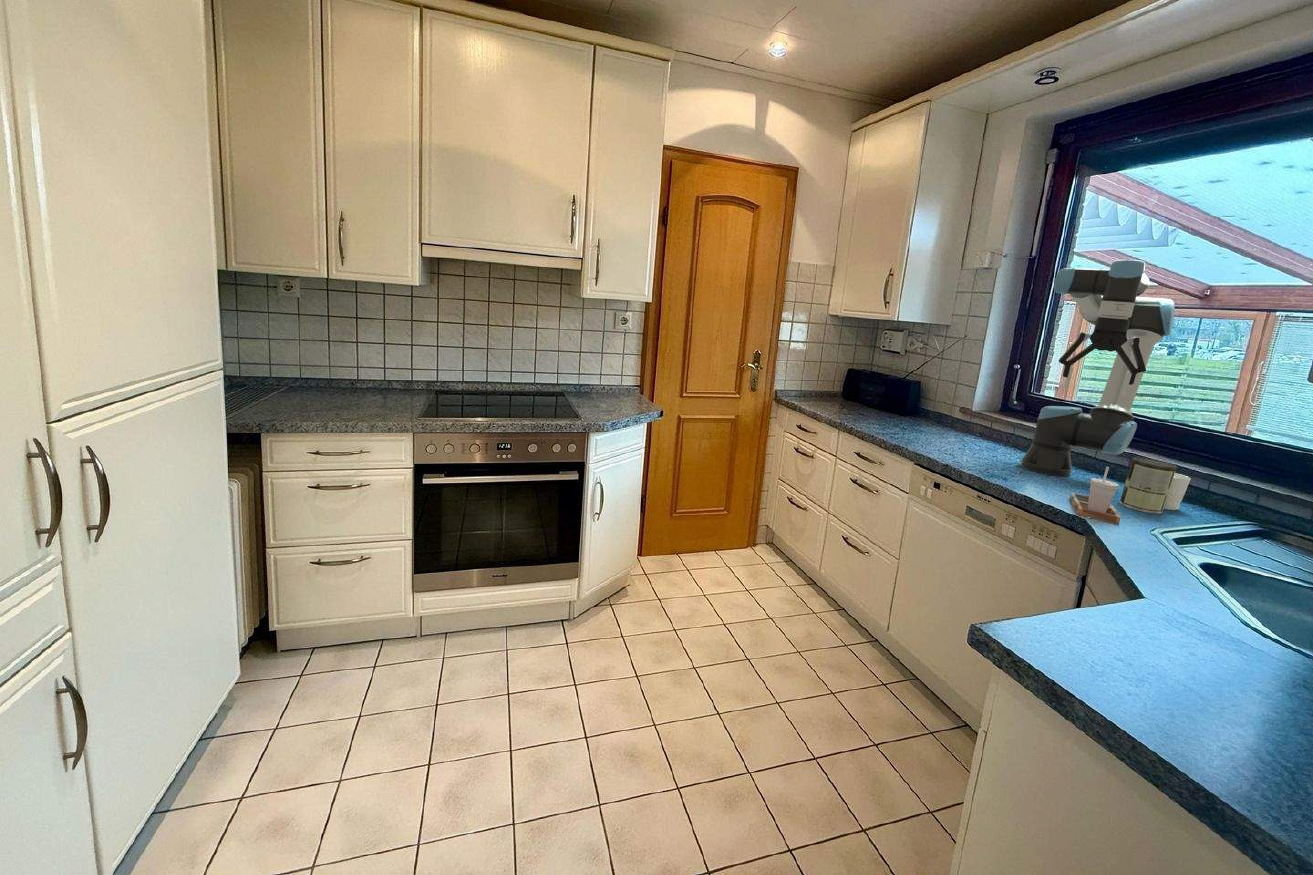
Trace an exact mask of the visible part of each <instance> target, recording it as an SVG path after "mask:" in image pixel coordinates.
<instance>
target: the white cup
mask: <svg viewBox="0 0 1313 875" xmlns="http://www.w3.org/2000/svg"><path fill="white" fill-rule="evenodd" d="M1190 481H1191V477H1189V476H1187V475H1183V474H1180V473H1176V472H1175V474H1174V478H1173V481H1172V484H1171V487H1170V490H1169V493H1168V496H1167V499H1166V503H1165V506H1164V509H1163V510H1168V511H1169V510H1171V511H1177V510H1179V508H1180V506H1181V502H1182V501H1183V500H1184V497H1185V494H1186V491H1187V489H1188V486H1189V483H1190Z"/></svg>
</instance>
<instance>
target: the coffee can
mask: <svg viewBox="0 0 1313 875" xmlns="http://www.w3.org/2000/svg"><path fill="white" fill-rule="evenodd" d="M1177 469H1178V466H1177V465H1176V464H1173V463H1170V462H1166V461H1163V460H1158V459H1154V458H1150V457H1149V458H1148V457H1141V456H1140V457H1139V456H1138V457H1136V456H1135V457H1132V458H1131V463H1130V467H1129V470H1128V473H1127V475H1126V479H1125V484H1124V487H1123V490H1122V493H1121V497H1120V499H1119V504H1120V505H1121V506H1124V507H1126V508H1129V509H1132V510H1135V511H1137V512H1138V511H1139V512H1143V513H1148V514H1158V515H1159V514H1160V515H1161V514H1163V513H1164V510H1165V509H1164V506H1165V503H1166V499H1167V496H1168V493H1169V490H1170V487H1171V484H1172V481H1173V478H1174V474H1175V473H1176V471H1177Z"/></svg>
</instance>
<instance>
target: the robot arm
mask: <svg viewBox="0 0 1313 875" xmlns="http://www.w3.org/2000/svg"><path fill="white" fill-rule="evenodd" d="M1145 267H1146V262H1145V261H1143V260H1137V259H1136V260H1135V259H1116V260H1113V262H1111V265H1110V268H1109V269H1101V268H1100V269H1099V268H1079V267H1078V268H1075V267H1072V268H1071V267H1070V268H1069V267H1068V268H1065V267H1064V268H1061V269H1060V270H1059V271H1058V272H1057V274H1056V275H1055V276H1056V277H1055V279H1054V283H1053V290H1054V292H1055V293H1056V294H1063V295H1069V296H1070V297H1071V298H1072V300H1074V302H1075V304H1076V305H1077V306H1078V311H1079V314H1080V316H1081V317H1082V318H1083V319H1084V320H1085V321H1086V322H1088V323H1090V324H1091V325H1093V326H1094V328H1093V330H1092V331H1093V332H1092V333H1091V334H1089V333H1085V332H1082V331H1081V332H1079V334H1078V336H1077V339H1076V340H1075V341H1074V342H1073V343H1072V345H1071V346H1070V347H1068V349H1067V350H1066V351H1065V353H1064V354H1063V355H1062V356H1061V357H1060V358H1059V359H1058V362H1059V364H1062V365H1064V368H1063V372H1062V377H1063V378H1065V381H1064V385H1063V389H1064V390H1069V388H1070V384H1071V379H1072V375H1073V372H1074V369H1075V368H1074V366H1072V365H1075V363H1076V362H1078V361H1080V360H1081V359H1082V358H1084V357H1085V356H1087V355H1088V354H1090V353H1091V352H1093V351H1094V350H1097V351H1107V352H1115V353H1116V355H1115V359H1114V361H1113V364H1112V366H1111V370H1110V372H1109V374H1108V379H1107V382H1106V384H1105V386H1104V389H1103V392H1102V395H1101V398H1100V400H1099V403H1098V404H1097V405H1096V406H1093V407H1092V408H1091V409H1090V411H1089V413H1086V412H1083V409H1082V408H1081V407H1074V406H1066V405H1065V406H1063V405H1062V406H1061V405H1048V406H1044V407H1042V408H1041V409H1040V412H1039V415H1038V417H1037V422H1036V426H1035V430H1034V434H1033V437H1032V441H1031V444H1030V447H1029V448H1028V450H1027V451H1026V453H1025V454H1024V455H1023V457H1022V458H1021V461H1020V467H1022V468H1023V469H1026V470H1029V471H1032V472H1034V473H1035V472H1036V473H1041V474H1044V475H1049V476H1055V477H1056V476H1057V477H1070V476H1071V473H1072V469H1073V468H1072V459H1071V450H1072V447H1076V448H1081V449H1086V450H1091V451H1095V452H1099V453H1102V454H1111V455H1120V454H1123V453H1124V452H1125V450H1126V449H1127V448H1128V447H1129V445H1130V444H1131V441H1132V440H1133V437H1134V435H1135V433H1136V430H1137V428H1138V423H1137V422H1135V421H1134V418H1135V417H1134V415H1133V414H1132V412H1131V411H1132V407H1133V404H1134V402H1135V399H1136V395H1137V393H1138V390H1139V388H1140V385H1141V382H1142V379H1143V376H1144V373H1145V372H1146V371H1147V368H1146V367H1147V365H1148V362H1149V359H1150V356H1151V354H1152V351H1153V348H1154V345H1156V344H1159V343H1161V342H1162V340H1163V337H1168V336H1170V335H1171V332H1172V330H1173V324H1174V318H1175V307H1176V306H1175V305H1176V304H1175V301H1173V300H1172V299H1170V298H1169V299H1168V298H1159V297H1142V296H1141V295H1142V294H1144V293H1145V292H1146V291H1147V290H1148V287H1149V286H1150V278H1149V277H1148V275H1147V274H1146V273H1145ZM1088 339H1089V340H1090V342H1091V343H1090V344H1089V345H1088V346H1087V347H1085V348H1084V349H1083V350H1081V351H1080V352H1078V353H1077V354H1076V355H1074V356H1072V357H1071V355H1072V354H1073V353H1074V352H1075V351H1076V350H1077V349H1078V348H1079V347H1080V346H1081V345H1082V343H1083V342H1085V341H1087V340H1088ZM1070 357H1071V358H1070ZM1069 358H1070V359H1069Z"/></svg>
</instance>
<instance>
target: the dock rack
mask: <svg viewBox="0 0 1313 875" xmlns="http://www.w3.org/2000/svg"><path fill="white" fill-rule="evenodd" d="M1068 499H1070V500H1069V502H1070V503H1071V506H1072V508H1073V507H1074V508H1073V509H1075V510H1074V512H1075V511H1076V512H1075V514H1076V513H1077V514H1076V516H1077V515H1078V517H1082V516H1083V518H1086V517H1090V518H1089V519H1091V518H1093V519H1092V520H1095V519H1096V520H1097V521H1101V522H1106V523H1111V524H1114V525H1115V524H1116V525H1120V522H1121V520H1122V517H1121V515H1120V514H1119V512H1118V511H1117V509H1116V508H1115V507H1114V505H1113V504H1112V503H1111V502H1110V504H1109V506H1108V508H1107V510H1106V512H1105V513H1101V512H1096V511H1091V510H1087V509H1088V501H1089V495H1084V494H1079V493H1074V492H1070V494H1069V497H1068Z"/></svg>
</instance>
